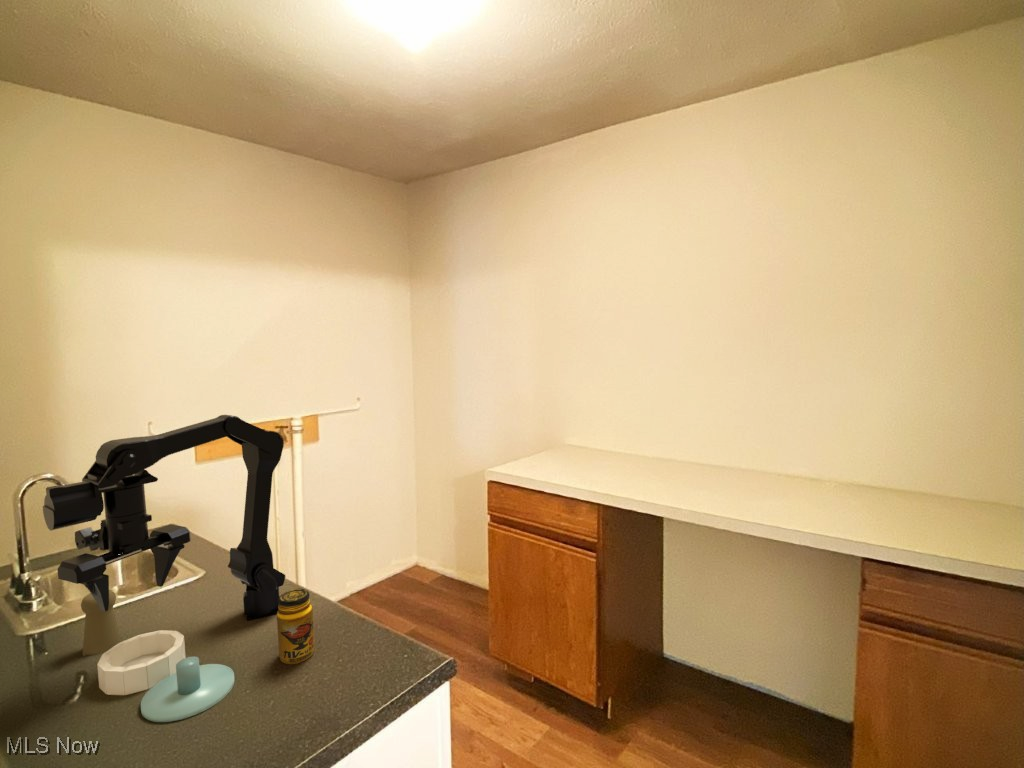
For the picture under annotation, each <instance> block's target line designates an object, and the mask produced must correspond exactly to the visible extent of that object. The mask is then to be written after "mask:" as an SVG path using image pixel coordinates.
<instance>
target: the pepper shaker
mask: <svg viewBox="0 0 1024 768" xmlns="http://www.w3.org/2000/svg"><path fill="white" fill-rule="evenodd" d="M116 601H117V595H116V593H115V592H114V591H113V590H112V589H109V607H108V611H106V612H105V611H102V610H101V608H100V607H99V605H98V604H97V602H96V601H95V599H94V597H93V596H92V594H91V593H88V594H87V595H85V596H84V597H83V598H82V600H81V603H80V607H81V610H82V612H83V613H85V616H84V617H85V618H84V627H83V628H84V631H83V641H82V642H83V643H82V654H81V655H82V656H83V657H86V656H93V655H99V654H104V653H105V652H106V651H108V650H109V649H111V648H112V647H114V646H115V645H117V644H119V643H120V642H123V639H122V636H121V632H120V627H119V623H118V620H117V617H116V612H115V609H114V605H116Z"/></svg>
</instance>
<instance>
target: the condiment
mask: <svg viewBox="0 0 1024 768" xmlns="http://www.w3.org/2000/svg"><path fill="white" fill-rule="evenodd" d="M310 596H311V595H310V592H309V591H308V590H307V589H305V588H293V589H290V590H287V591H285V592H283V593H281V595H279V599H278V603H279V605H278V609H279V610H278V612H277V615H276V623H277V627H276V628H277V638H278V639H277V640H278V658H279V660H280V662H281V663H282V664H283V663H284V664H286V665H295V664H300V663H302V662H304V661H306V660H309V659H310V658H311V657H312V656H313V655H314V651H315V645H316V643H315V631H314V629H315V628H314V611H313V610H314V609H313V605H312V604H311V603H310V602H311V598H310Z"/></svg>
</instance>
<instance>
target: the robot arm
mask: <svg viewBox="0 0 1024 768" xmlns="http://www.w3.org/2000/svg"><path fill="white" fill-rule="evenodd" d="M280 434H281V433H279V432H277V431H274V430H267V429H263V428H260V427H259V426H257V425H253V424H251V423H249V422H247V421H245V420H244V419H241V418H240V417H238V416H236V415H232V414H231V415H230V414H221V415H218V416H216V417H215V418H211V419H207V420H204V421H200V422H197V423H194V424H189V425H186V426H184V427H181V428H180V427H179V428H176V429H173V430H169V431H166V432H162V433H158V434H155V435H154V434H153V435H146V436H134V437H127V438H118V439H117V438H116V439H111V440H108V441H106V442H104V443H102V444H101V445H100V447H99V448H98V449H97V451H96V454H95V461H94V462H93V464H92V465H91V466H90V468H89V469H88V471H87V472H86V473H85V475H84V476H83V477H82V479H81V481H78V482H75V483H70V484H64V485H52V486H47V487H45V493H46V495H45V496H44V502H43V505H42V513H43V517H44V522H45V525H46V527H47V529H48V530H49V531H56V530H58V529H63V528H67V527H72V526H76V525H79V524H83V523H88V522H92V521H96V519H97V518H98V517H99V516H102V512H104V515H105V516H104V517H105V519H102V520H100V528H99V529H95V530H93V528H92V527H91V526H89V527H85V528H82V529H80V530H77V531H74V542H75V546H76V548H77V550H82V549H86V548H88V549H89V551H90V552H93V551H96V550H98V549H99V551H108V552H106V553H103V554H100V555H95V554H90V553H86V552H85V553H82V554H79V555H77V556H74V557H71V558H67V559H65V560H62V561H61V563H60V564H59V566H58V567H57V579H58V580H62V581H65V582H68V583H74V584H77V585H78V584H80V585H83V586H84V587H85V588H86V589H87V590H88V592H90V593H91V594H92V596H93V597H94V599H95V601H96V602H97V604H98V605H99V607H100V608H101V610H102V611H105V612H106V611H108V607H109V590H110V583H109V582H110V576H109V575H108V574H105V572H106V570H107V565H110V564H114V563H115V562H118V561H121V560H124V559H126V558H129V557H132V556H135V555H137V554H140V553H144V552H146V551H148V550H150V551H151V553H152V555H153V557H154V571H155V572H154V573H155V582H156V585H157V587H160V588H161V587H163V586H164V585H165V582H166V579H167V578H168V576H169V574H170V571H171V568H172V566H173V565H174V563H175V561H176V559H177V557H178V555H179V554H180V551H181V550H183V549H184V548H185V544H188V543H190V542H191V539H192V538H191V531H190V530H189V528H188V527H186V526H181V525H177V524H166V525H164V526H161V527H158V528H156V529H153V530H151V532H150V534H149V526H148V523H149V522H151V521H153V517H152V514H148V513H147V502H146V492H145V484H146V485H147V484H150V483H156V482H158V480H159V479H158V477H156V476H154V475H152V474H151V473H150V472H149V471H148V470H147V469H148V468H150V467H152V466H154V465H155V464H156V463H158V462H160V461H161V460H163V459H164V458H166V457H168V456H171V455H173V454H177V453H179V452H183V451H186V450H189V449H192V448H195V447H199V446H202V445H204V444H207V443H208V444H209V443H211V442H214V441H217V440H220V439H223V438H228V439H229V440H230V441H232V442H234V443H237V444H238V445H239V446H241V453H242V459H243V462H244V465H245V467H246V471H247V476H246V477H247V479H246V487H245V488H246V491H245V502H244V514H243V526H242V535H241V536H242V537H241V540H240V542H239V544H238V545H237V546H236V547H230V549H229V563H228V565H227V568H229V569H230V574H231V575H232V576H233V577H235V579H238V581H239V582H241V584H242V585H245V592H244V593H243V596H242V597H243V601H242V602H243V614H244V616H245V617H246V621H248V622H250V621H254V620H259V619H263V618H267V617H272V616H277V612H278V610H279V609H278V605H279V603H278V599H279V597H280V587H281V586H284V584H285V580H286V574H285V573H283V572H281V571H279V570H278V569H275V568H274V557H273V551H272V549H271V546H270V543H269V541H268V532H269V520H270V509H271V508H270V507H271V499H272V498H271V497H272V484H273V474H274V471H275V469H276V468H277V466H278V465H279V463H280V461H281V459H282V453H283V450H284V444H285V442H284V440H285V439H284V438H283V436H281V435H280ZM90 593H89V594H90Z"/></svg>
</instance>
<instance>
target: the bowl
mask: <svg viewBox="0 0 1024 768" xmlns="http://www.w3.org/2000/svg"><path fill="white" fill-rule="evenodd" d="M101 654H102V655H101V656H100V658H99V661H97V663H96V664H97V665H96V666H97V677H98V679H97V680H98V688H99V690H101V691H102V692H103V693H104V694H105V695H108V696H109V695H111V696H127V695H132V694H134V693H135V694H136V693H139V692H143V691H146V690H147V691H148V690H150V689H151V688H152V687H153V686H154V685H156V684H157V683H158V682H160V681H161V680H163V679H165V678H166V677H168V676H170V675H172V674H174V673H176V664H177V663H178V662H179V661H181V660H182V659H185V658H187V657H186V645H185V636H184V635H183V634H182V633H181V632H179V631H178V630H162V629H160V630H155V631H151V632H150V631H149V632H146V633H141V634H138V635H135V636H133V637H131V638H128V639H125V640H122V642H120V643H119V644H117V645H115V646H114V647H112V648H111V649H109V650H108V651H106V652H103V653H101Z"/></svg>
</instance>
